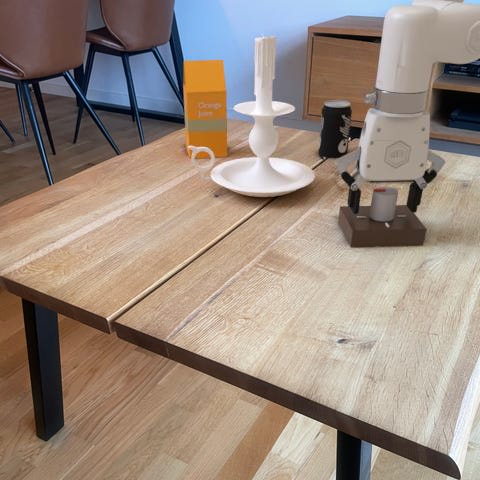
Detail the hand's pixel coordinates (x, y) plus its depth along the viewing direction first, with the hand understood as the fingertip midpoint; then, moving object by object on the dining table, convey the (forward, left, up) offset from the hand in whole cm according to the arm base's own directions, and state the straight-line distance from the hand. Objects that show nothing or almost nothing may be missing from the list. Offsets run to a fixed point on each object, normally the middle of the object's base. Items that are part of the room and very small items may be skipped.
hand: (382, 210), depth 92 cm
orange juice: (+29, -46, -4) cm, 55 cm away
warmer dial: (0, 0, -1) cm, 1 cm away
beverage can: (0, -41, -4) cm, 41 cm away
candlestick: (+20, -22, -4) cm, 30 cm away
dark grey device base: (-10, -27, -4) cm, 29 cm away
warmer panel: (0, 0, -4) cm, 4 cm away
